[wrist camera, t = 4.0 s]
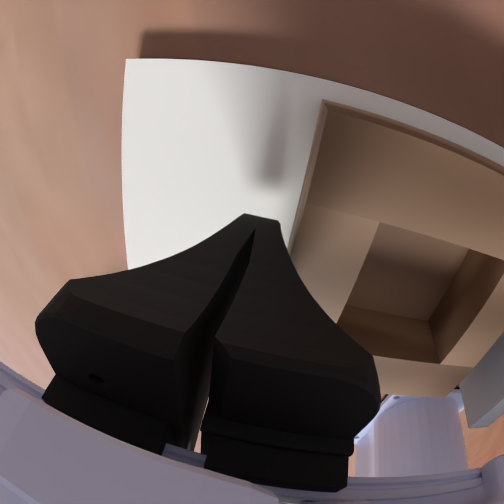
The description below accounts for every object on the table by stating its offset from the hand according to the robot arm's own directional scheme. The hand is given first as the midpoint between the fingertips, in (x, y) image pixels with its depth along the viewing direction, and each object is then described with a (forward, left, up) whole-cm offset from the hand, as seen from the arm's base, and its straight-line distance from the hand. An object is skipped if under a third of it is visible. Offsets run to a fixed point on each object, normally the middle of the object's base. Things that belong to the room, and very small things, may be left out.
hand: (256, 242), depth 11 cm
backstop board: (0, -4, -3) cm, 5 cm away
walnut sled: (0, -6, -2) cm, 6 cm away
